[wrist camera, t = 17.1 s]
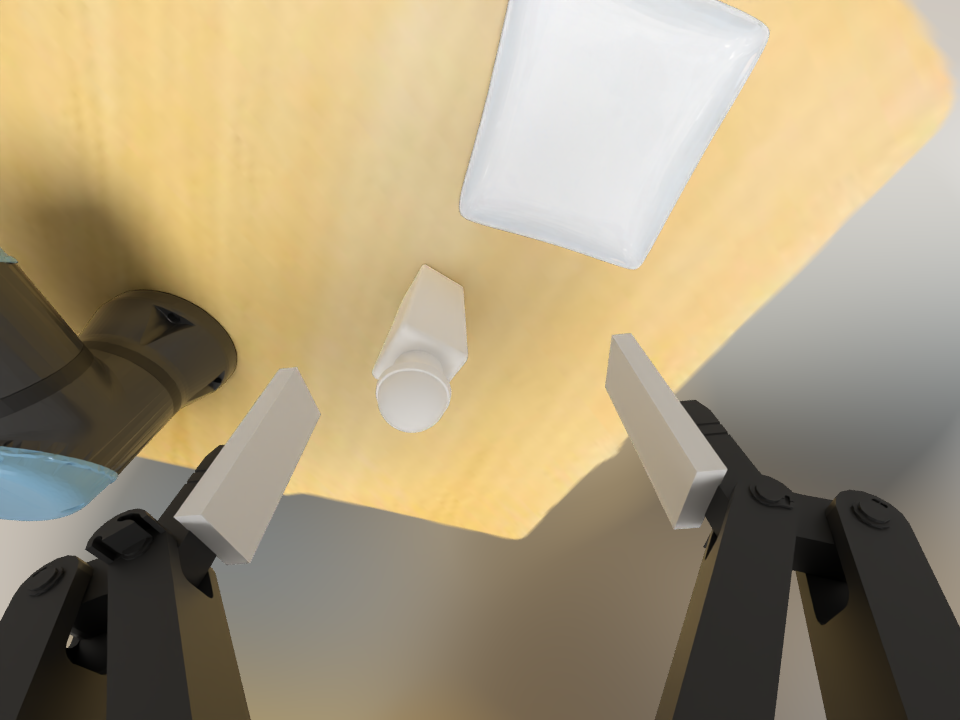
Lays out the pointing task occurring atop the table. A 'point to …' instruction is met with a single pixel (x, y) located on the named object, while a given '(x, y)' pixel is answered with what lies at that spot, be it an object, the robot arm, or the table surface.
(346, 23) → the table surface
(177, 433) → the table surface
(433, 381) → the white square bottle
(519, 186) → the salad plate
